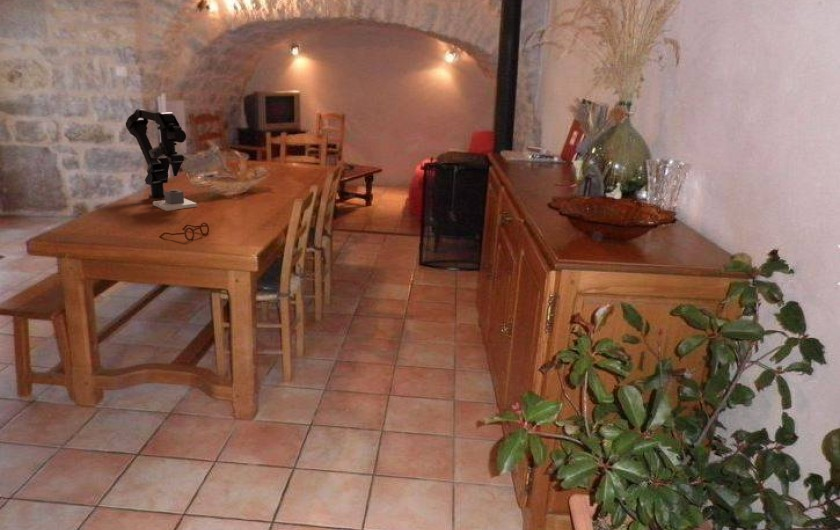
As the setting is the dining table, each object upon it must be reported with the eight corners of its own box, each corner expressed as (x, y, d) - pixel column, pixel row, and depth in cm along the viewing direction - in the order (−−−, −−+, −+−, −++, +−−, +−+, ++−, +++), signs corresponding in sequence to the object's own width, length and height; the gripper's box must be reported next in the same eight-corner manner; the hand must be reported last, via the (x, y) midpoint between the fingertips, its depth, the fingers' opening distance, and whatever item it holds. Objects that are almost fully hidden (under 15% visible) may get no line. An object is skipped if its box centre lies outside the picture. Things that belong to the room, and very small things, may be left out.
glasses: (187, 242, 233) (186, 229, 232) (158, 238, 238) (157, 225, 236) (210, 234, 245) (209, 221, 243) (182, 230, 249) (181, 217, 248)
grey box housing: (165, 202, 285) (164, 190, 283) (178, 200, 289) (177, 189, 287) (171, 204, 281) (169, 193, 279) (184, 202, 285) (183, 191, 283)
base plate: (153, 205, 285) (151, 192, 283) (183, 201, 294) (182, 189, 293) (166, 210, 276) (165, 198, 274) (197, 206, 285) (196, 194, 283)
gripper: (141, 139, 287) (144, 173, 292) (158, 144, 275) (162, 179, 280) (165, 137, 295) (168, 171, 300) (183, 142, 282) (186, 177, 287)
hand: (170, 174), depth 291 cm, fingers open, 9 cm apart
